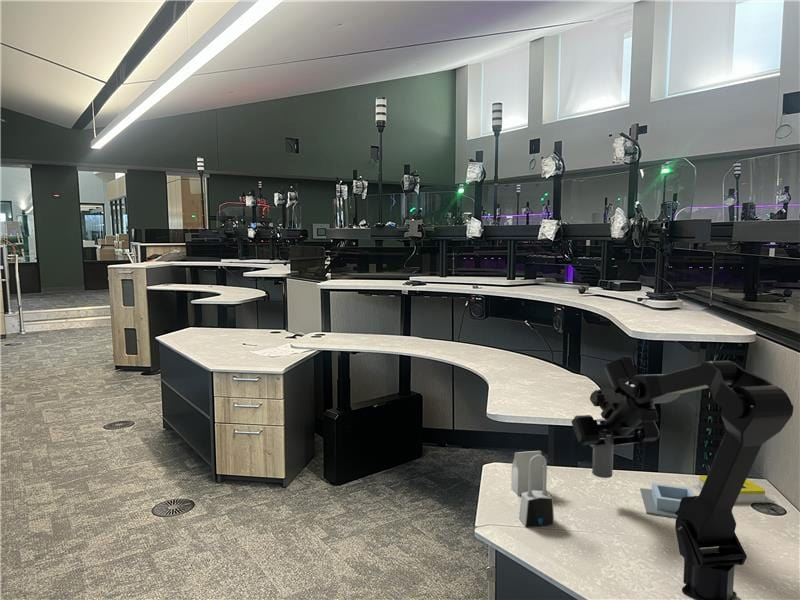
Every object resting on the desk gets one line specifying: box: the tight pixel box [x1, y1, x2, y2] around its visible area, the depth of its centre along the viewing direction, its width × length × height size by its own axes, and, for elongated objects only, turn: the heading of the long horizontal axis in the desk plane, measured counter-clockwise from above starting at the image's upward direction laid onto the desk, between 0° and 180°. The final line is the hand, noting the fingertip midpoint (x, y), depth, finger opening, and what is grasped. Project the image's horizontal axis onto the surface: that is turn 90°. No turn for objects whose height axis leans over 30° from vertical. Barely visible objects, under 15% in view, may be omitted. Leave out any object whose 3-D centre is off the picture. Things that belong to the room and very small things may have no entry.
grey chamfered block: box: [511, 450, 544, 496], centre depth 127 cm, size 4×7×10 cm, turn 102°
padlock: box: [518, 454, 555, 528], centre depth 112 cm, size 7×4×15 cm, turn 100°
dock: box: [639, 482, 696, 519], centre depth 121 cm, size 13×13×3 cm
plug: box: [591, 418, 615, 479], centre depth 121 cm, size 4×4×12 cm
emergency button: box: [692, 475, 775, 504], centre depth 127 cm, size 9×4×15 cm
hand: (600, 444), depth 122 cm, fingers closed on plug, 4 cm apart
